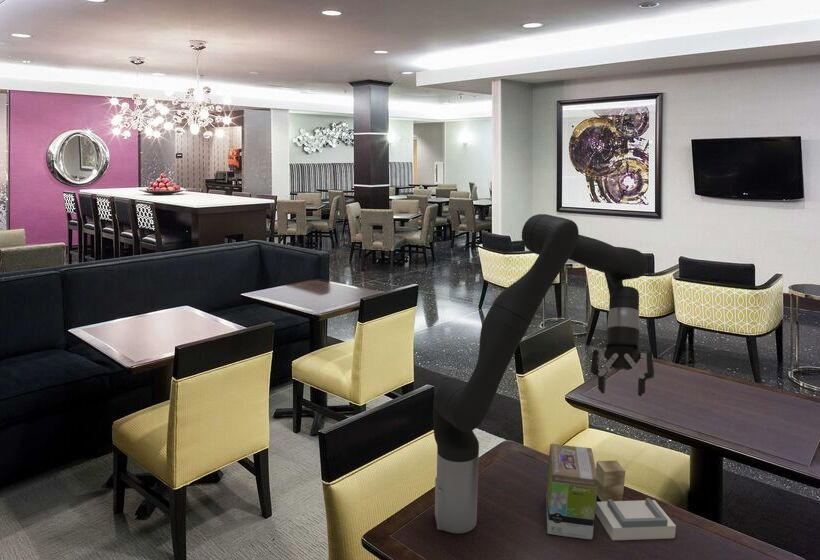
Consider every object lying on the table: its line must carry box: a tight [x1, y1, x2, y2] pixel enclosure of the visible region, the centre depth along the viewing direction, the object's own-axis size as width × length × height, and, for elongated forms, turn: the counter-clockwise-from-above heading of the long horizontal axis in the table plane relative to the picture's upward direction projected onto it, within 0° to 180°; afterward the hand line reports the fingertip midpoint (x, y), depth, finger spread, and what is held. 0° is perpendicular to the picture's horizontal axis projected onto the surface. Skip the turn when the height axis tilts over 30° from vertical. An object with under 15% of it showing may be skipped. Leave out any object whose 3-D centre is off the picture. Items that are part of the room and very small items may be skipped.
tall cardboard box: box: [595, 460, 626, 502], centre depth 144 cm, size 5×5×9 cm
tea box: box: [545, 443, 598, 540], centre depth 136 cm, size 15×10×15 cm, turn 168°
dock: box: [595, 497, 677, 541], centre depth 134 cm, size 14×10×4 cm
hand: (621, 394), depth 143 cm, fingers open, 8 cm apart
